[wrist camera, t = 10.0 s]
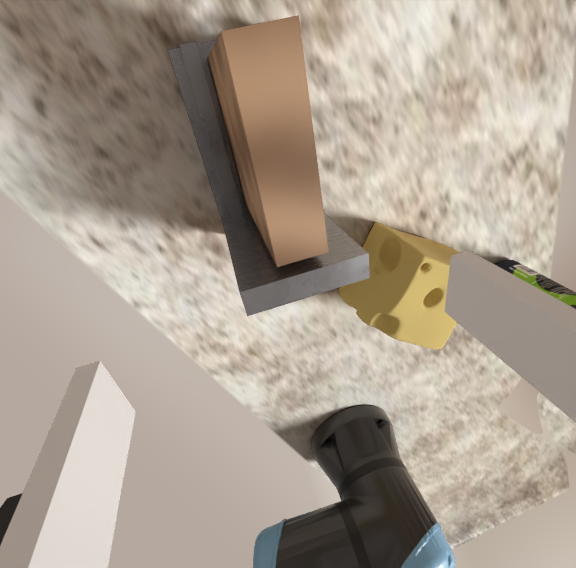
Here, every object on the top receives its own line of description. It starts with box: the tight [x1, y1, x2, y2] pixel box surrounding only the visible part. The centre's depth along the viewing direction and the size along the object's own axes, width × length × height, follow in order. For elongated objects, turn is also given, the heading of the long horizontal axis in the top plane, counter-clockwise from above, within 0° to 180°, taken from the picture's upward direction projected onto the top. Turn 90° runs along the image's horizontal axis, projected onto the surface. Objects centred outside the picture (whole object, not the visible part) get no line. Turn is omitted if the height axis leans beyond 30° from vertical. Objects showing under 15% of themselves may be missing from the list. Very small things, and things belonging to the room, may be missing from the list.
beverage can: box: [495, 260, 576, 306], centre depth 42 cm, size 6×6×15 cm
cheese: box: [339, 222, 459, 349], centre depth 37 cm, size 10×11×10 cm
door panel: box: [207, 15, 329, 267], centre depth 23 cm, size 12×4×14 cm, turn 11°
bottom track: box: [168, 40, 370, 316], centre depth 24 cm, size 16×9×15 cm, turn 11°
